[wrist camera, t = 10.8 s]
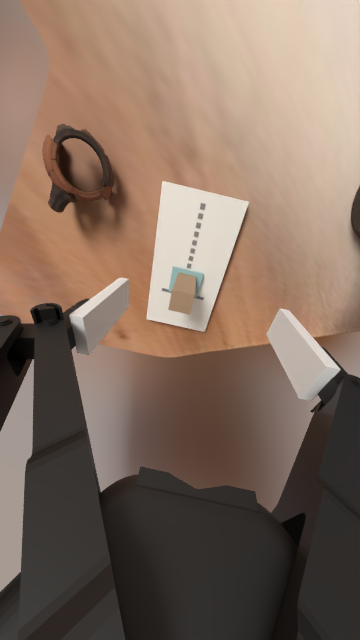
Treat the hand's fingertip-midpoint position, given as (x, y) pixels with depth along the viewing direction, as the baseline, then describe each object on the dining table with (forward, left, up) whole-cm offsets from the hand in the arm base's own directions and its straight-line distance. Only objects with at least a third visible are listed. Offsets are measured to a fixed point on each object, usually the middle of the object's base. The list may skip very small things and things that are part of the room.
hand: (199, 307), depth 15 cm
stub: (+2, +5, -20) cm, 21 cm away
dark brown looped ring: (+22, -8, -22) cm, 32 cm away
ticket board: (+2, +3, -22) cm, 22 cm away
